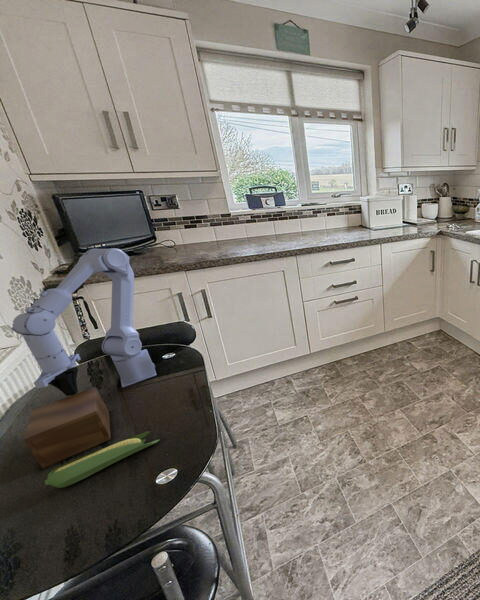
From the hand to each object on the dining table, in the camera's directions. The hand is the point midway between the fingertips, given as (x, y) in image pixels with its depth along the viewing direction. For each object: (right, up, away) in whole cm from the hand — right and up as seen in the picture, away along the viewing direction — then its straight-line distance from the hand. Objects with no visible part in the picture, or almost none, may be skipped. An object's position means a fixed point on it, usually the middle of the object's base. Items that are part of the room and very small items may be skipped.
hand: (72, 394), depth 94 cm
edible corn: (+27, -12, -18) cm, 34 cm away
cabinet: (+10, -9, -9) cm, 16 cm away
